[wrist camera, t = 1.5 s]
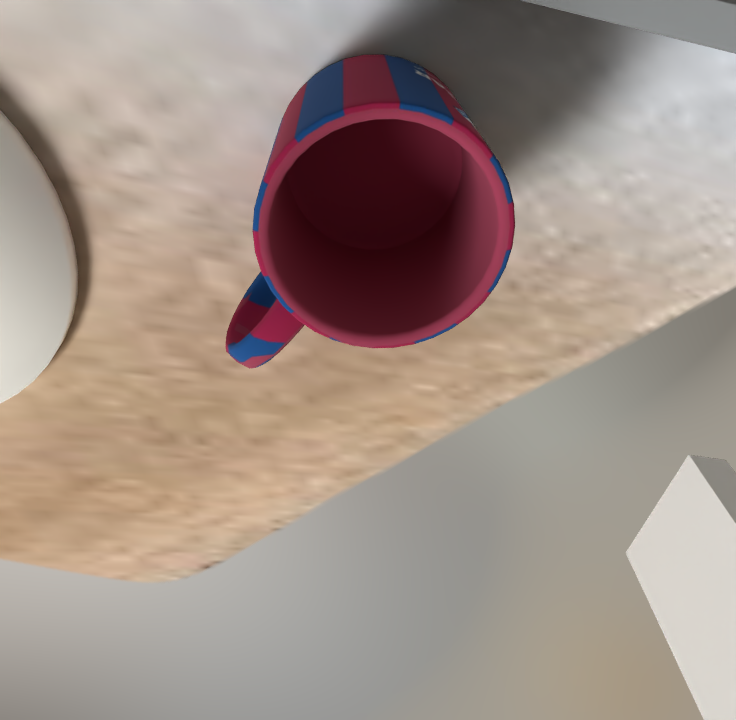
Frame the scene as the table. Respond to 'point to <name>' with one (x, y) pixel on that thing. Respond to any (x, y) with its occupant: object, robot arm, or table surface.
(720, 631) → the robot arm
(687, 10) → the rack
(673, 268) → the table surface
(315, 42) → the table surface
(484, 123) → the table surface
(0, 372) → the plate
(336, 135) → the mug
